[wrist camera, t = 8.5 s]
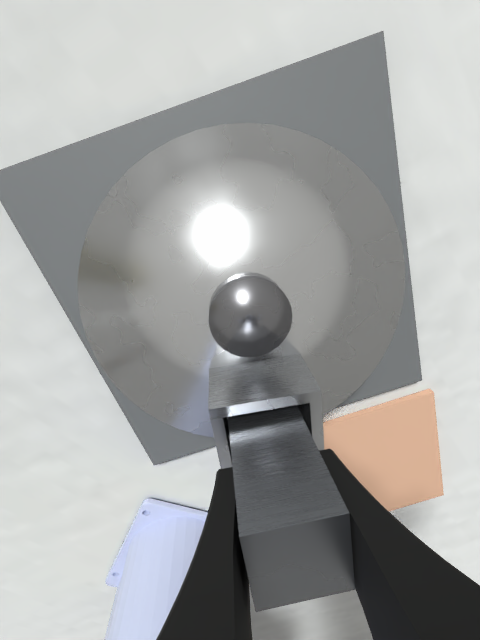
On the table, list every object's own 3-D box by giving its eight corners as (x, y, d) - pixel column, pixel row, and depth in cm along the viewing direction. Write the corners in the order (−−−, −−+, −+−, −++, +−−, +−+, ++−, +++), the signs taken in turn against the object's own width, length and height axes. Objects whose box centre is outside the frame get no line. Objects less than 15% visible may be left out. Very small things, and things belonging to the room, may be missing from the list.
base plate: (416, 375, 20) (421, 380, 19) (155, 458, 21) (154, 465, 20) (376, 37, 13) (383, 30, 13) (-6, 176, 14) (-15, 175, 13)
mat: (440, 490, 24) (443, 494, 24) (317, 527, 25) (319, 532, 24) (429, 388, 20) (433, 392, 20) (286, 434, 21) (287, 438, 20)
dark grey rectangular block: (226, 402, 14) (238, 536, 8) (289, 390, 14) (349, 513, 8) (236, 454, 15) (255, 611, 9) (296, 442, 15) (355, 589, 9)
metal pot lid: (47, 159, 13) (-48, 136, 8) (388, 110, 14) (485, 61, 9) (138, 434, 19) (112, 515, 14) (379, 393, 19) (435, 458, 14)
